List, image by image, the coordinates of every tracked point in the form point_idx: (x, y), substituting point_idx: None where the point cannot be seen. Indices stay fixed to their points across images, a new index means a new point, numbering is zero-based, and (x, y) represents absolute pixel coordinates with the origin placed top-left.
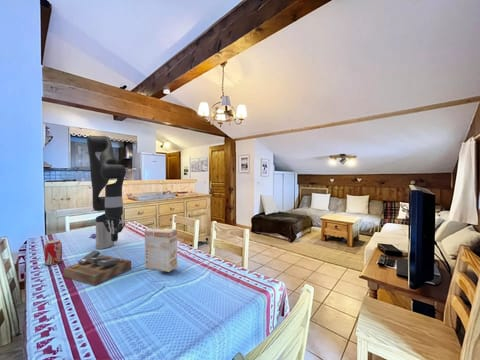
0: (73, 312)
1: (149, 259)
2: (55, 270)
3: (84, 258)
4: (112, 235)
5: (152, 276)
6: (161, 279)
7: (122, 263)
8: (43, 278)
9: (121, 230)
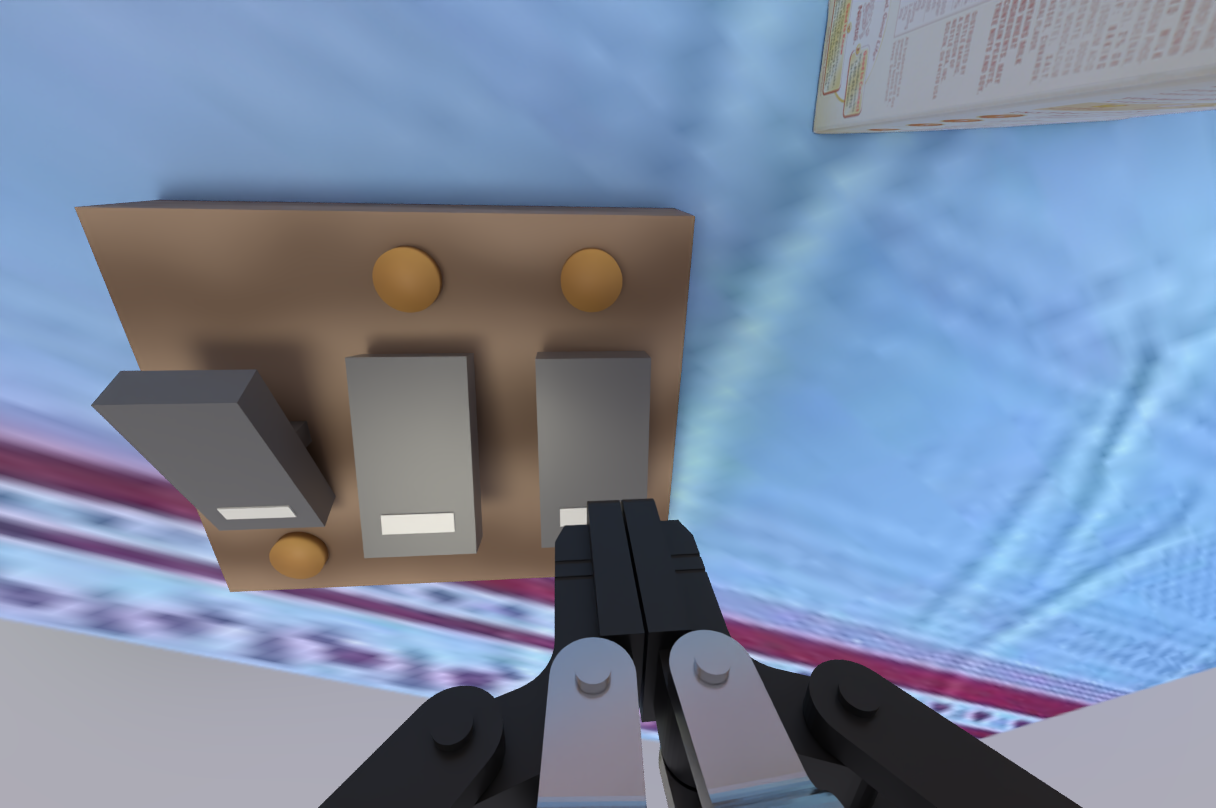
0: (788, 670)
1: (952, 126)
2: (33, 512)
3: (226, 500)
4: (641, 691)
5: (990, 262)
6: (1093, 275)
7: (660, 318)
8: (174, 602)
9: (942, 732)
